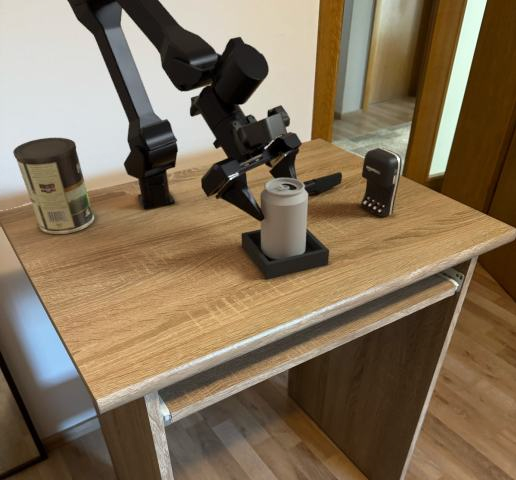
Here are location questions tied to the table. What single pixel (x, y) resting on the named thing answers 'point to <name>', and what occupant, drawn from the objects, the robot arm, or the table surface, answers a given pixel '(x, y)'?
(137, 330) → the table surface
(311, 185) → the electric trimmer
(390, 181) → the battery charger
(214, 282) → the table surface
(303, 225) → the can
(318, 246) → the black square open tray
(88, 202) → the coffee can
